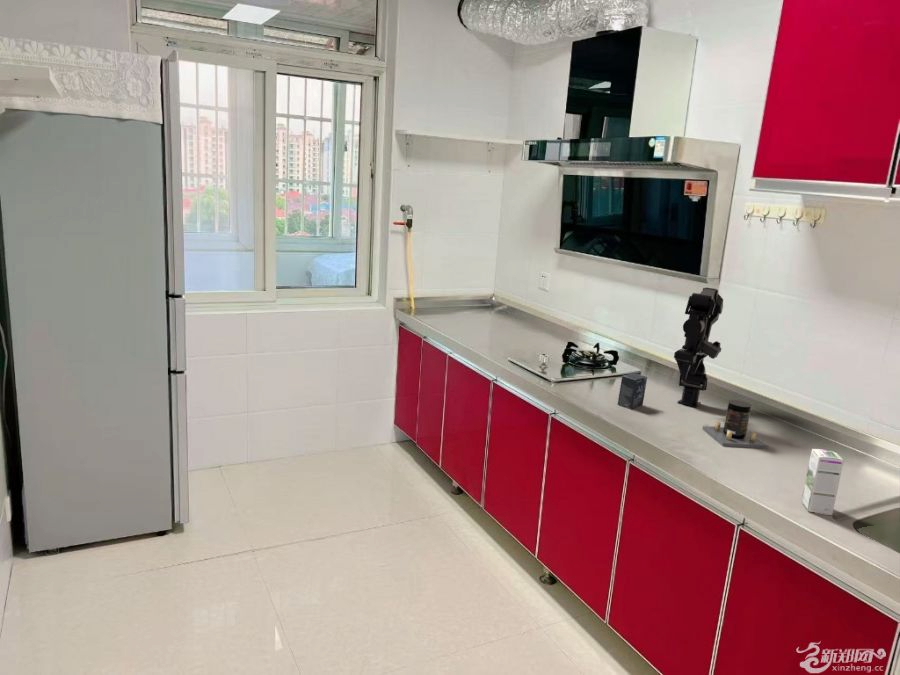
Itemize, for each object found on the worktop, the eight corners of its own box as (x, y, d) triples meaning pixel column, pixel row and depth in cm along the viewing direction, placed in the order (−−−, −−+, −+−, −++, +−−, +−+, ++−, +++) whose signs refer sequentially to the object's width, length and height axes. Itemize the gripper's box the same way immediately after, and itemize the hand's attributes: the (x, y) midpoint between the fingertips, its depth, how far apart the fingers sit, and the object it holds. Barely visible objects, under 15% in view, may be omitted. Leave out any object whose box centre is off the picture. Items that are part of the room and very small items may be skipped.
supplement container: (748, 435, 215) (754, 403, 213) (742, 441, 210) (748, 408, 208) (726, 429, 219) (731, 398, 217) (719, 434, 214) (725, 402, 211)
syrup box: (832, 516, 166) (845, 459, 163) (806, 512, 167) (819, 456, 164) (824, 505, 172) (837, 451, 169) (799, 501, 173) (811, 447, 169)
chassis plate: (702, 429, 221) (704, 418, 220) (744, 431, 222) (746, 421, 221) (722, 446, 207) (724, 435, 206) (767, 448, 208) (769, 437, 208)
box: (631, 409, 234) (636, 379, 232) (617, 404, 238) (621, 375, 236) (643, 405, 240) (647, 376, 237) (628, 401, 244) (633, 372, 241)
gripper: (712, 340, 216) (703, 388, 220) (728, 333, 231) (720, 377, 234) (677, 333, 222) (669, 379, 226) (695, 326, 237) (687, 370, 241)
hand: (688, 377), depth 232 cm, fingers open, 9 cm apart
